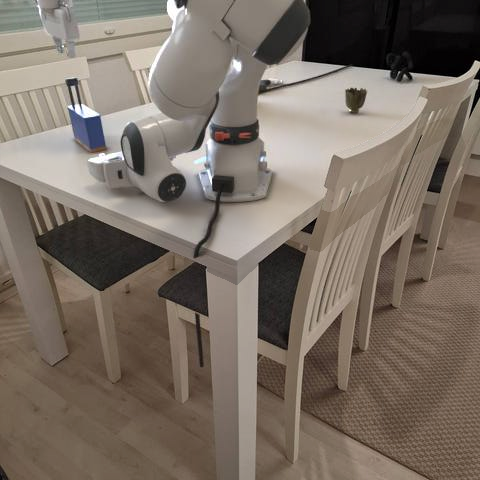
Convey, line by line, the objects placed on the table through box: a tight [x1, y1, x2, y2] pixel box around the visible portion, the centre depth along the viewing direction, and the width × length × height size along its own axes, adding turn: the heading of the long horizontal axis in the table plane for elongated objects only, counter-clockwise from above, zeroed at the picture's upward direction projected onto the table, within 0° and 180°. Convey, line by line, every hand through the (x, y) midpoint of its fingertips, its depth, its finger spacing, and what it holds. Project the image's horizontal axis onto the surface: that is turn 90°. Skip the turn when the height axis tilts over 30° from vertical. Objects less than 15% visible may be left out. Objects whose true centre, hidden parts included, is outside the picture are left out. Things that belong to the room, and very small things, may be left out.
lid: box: [64, 77, 102, 121], centre depth 129 cm, size 15×5×9 cm, turn 36°
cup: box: [344, 87, 368, 115], centre depth 156 cm, size 8×7×8 cm
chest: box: [67, 109, 107, 153], centre depth 134 cm, size 15×5×9 cm, turn 36°
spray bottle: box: [258, 77, 284, 92], centre depth 191 cm, size 3×11×24 cm
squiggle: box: [385, 51, 414, 83], centre depth 198 cm, size 11×10×15 cm
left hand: (66, 55), depth 127 cm, fingers open, 8 cm apart
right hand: (118, 152), depth 116 cm, fingers open, 8 cm apart
